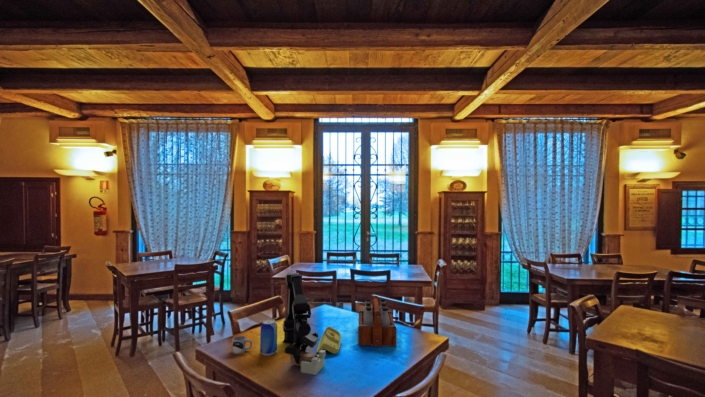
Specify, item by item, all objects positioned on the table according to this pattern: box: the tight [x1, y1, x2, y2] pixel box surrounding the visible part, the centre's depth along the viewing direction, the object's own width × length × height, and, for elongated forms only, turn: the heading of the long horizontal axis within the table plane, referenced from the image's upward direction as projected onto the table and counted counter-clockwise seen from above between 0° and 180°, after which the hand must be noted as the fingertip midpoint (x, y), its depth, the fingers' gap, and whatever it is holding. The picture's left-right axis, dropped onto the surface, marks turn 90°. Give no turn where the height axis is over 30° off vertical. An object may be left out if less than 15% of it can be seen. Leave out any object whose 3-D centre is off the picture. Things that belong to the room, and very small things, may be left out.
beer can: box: [259, 318, 278, 357], centre depth 166 cm, size 8×8×16 cm
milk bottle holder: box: [357, 295, 398, 347], centre depth 190 cm, size 21×35×19 cm, turn 178°
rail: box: [289, 351, 318, 367], centre depth 151 cm, size 12×4×5 cm, turn 71°
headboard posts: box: [300, 349, 327, 376], centre depth 149 cm, size 8×10×7 cm
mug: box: [231, 335, 253, 355], centre depth 167 cm, size 10×7×7 cm, turn 94°
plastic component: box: [315, 326, 342, 355], centre depth 174 cm, size 20×7×10 cm
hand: (299, 361), depth 152 cm, fingers closed on rail, 4 cm apart
